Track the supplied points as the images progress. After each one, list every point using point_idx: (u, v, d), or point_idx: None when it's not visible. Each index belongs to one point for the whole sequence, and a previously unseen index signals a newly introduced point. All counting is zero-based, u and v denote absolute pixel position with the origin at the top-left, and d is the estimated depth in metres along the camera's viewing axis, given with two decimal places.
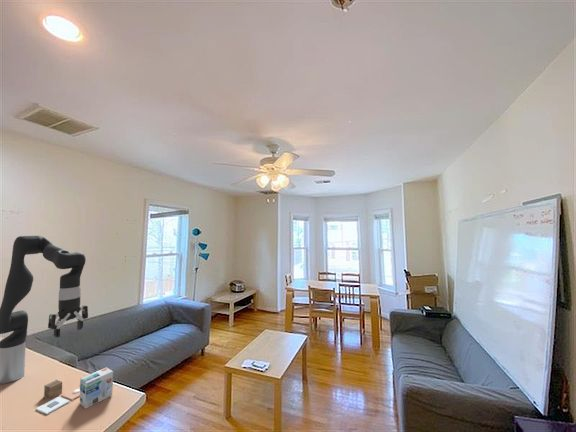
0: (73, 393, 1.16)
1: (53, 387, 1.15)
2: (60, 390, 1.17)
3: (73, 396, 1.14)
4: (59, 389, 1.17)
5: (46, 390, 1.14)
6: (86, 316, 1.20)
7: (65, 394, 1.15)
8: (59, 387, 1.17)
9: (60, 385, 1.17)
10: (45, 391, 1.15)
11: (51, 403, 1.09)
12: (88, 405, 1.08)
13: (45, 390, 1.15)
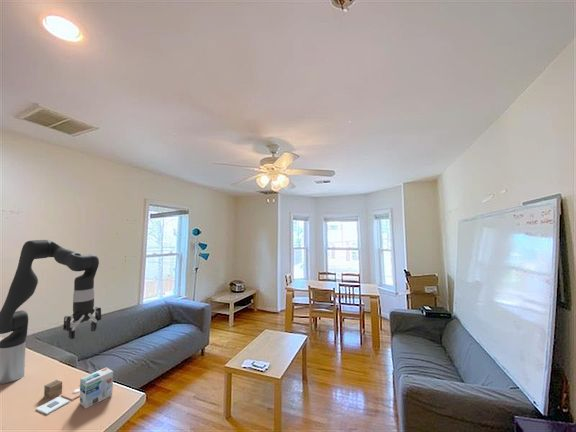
0: (73, 393, 1.16)
1: (53, 387, 1.15)
2: (60, 390, 1.17)
3: (73, 396, 1.14)
4: (59, 389, 1.17)
5: (46, 390, 1.14)
6: (99, 318, 1.21)
7: (65, 394, 1.15)
8: (59, 387, 1.17)
9: (60, 385, 1.17)
10: (45, 391, 1.15)
11: (51, 403, 1.09)
12: (88, 405, 1.08)
13: (45, 390, 1.15)
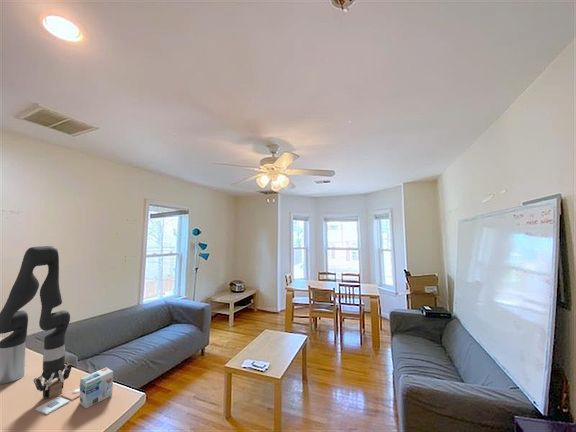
0: (73, 393, 1.16)
1: (53, 387, 1.15)
2: (60, 390, 1.17)
3: (73, 396, 1.14)
4: (59, 389, 1.17)
5: None
6: (67, 376, 1.20)
7: (65, 394, 1.15)
8: (59, 387, 1.17)
9: (60, 385, 1.17)
10: None
11: (51, 403, 1.09)
12: (88, 405, 1.08)
13: None
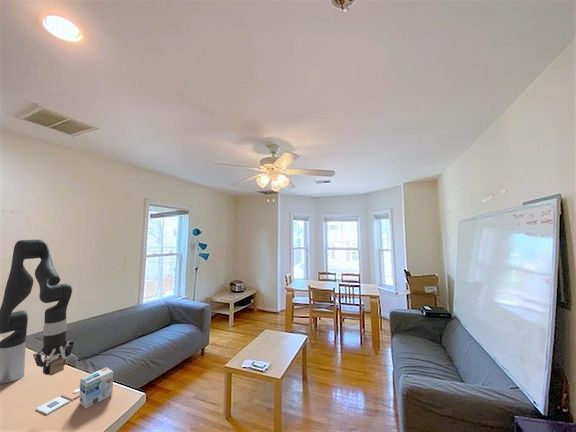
0: (73, 393, 1.16)
1: (54, 363, 1.08)
2: (62, 367, 1.10)
3: (73, 396, 1.14)
4: (60, 366, 1.10)
5: None
6: (68, 353, 1.14)
7: (65, 394, 1.15)
8: (60, 364, 1.10)
9: (62, 362, 1.10)
10: None
11: (51, 403, 1.09)
12: (88, 405, 1.08)
13: None
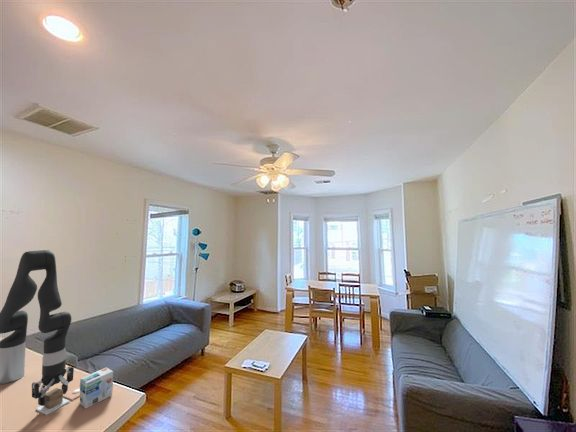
0: (73, 393, 1.16)
1: (53, 396, 1.07)
2: (61, 399, 1.10)
3: (73, 396, 1.14)
4: (59, 398, 1.09)
5: (46, 399, 1.07)
6: (71, 379, 1.14)
7: (65, 394, 1.15)
8: (59, 396, 1.09)
9: (61, 394, 1.10)
10: None
11: None
12: (88, 405, 1.08)
13: None
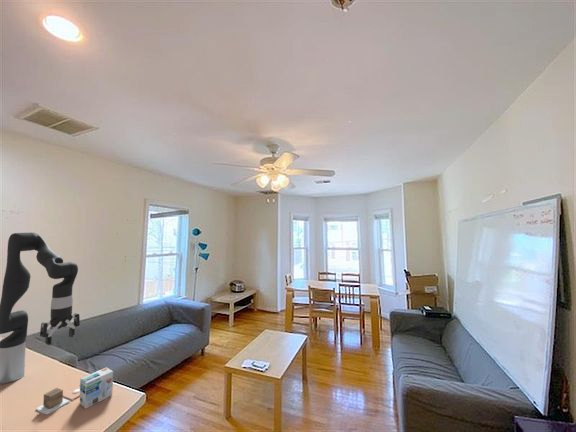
0: (73, 393, 1.16)
1: (53, 396, 1.07)
2: (61, 399, 1.10)
3: (73, 396, 1.14)
4: (59, 398, 1.09)
5: (46, 399, 1.07)
6: (78, 324, 1.23)
7: (65, 394, 1.15)
8: (59, 396, 1.09)
9: (61, 394, 1.10)
10: (44, 400, 1.07)
11: None
12: (88, 405, 1.08)
13: (44, 399, 1.07)
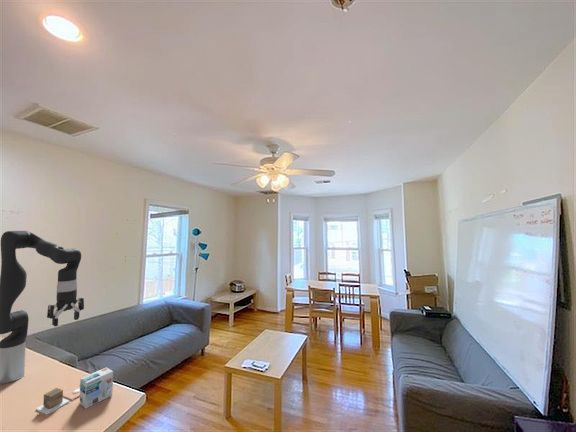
0: (73, 393, 1.16)
1: (53, 396, 1.07)
2: (61, 399, 1.10)
3: (73, 396, 1.14)
4: (59, 398, 1.09)
5: (46, 399, 1.07)
6: (82, 307, 1.30)
7: (65, 394, 1.15)
8: (59, 396, 1.09)
9: (61, 394, 1.10)
10: (44, 400, 1.07)
11: None
12: (88, 405, 1.08)
13: (44, 399, 1.07)
